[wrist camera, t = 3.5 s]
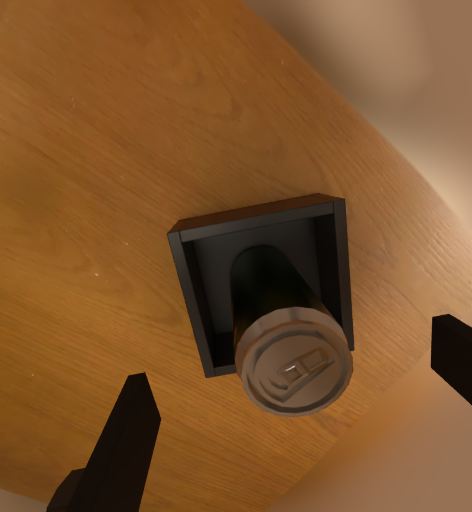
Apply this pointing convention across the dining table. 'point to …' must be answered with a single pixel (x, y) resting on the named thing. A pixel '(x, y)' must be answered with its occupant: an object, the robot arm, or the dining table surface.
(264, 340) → the beer can
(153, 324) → the dining table surface
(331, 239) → the bin
